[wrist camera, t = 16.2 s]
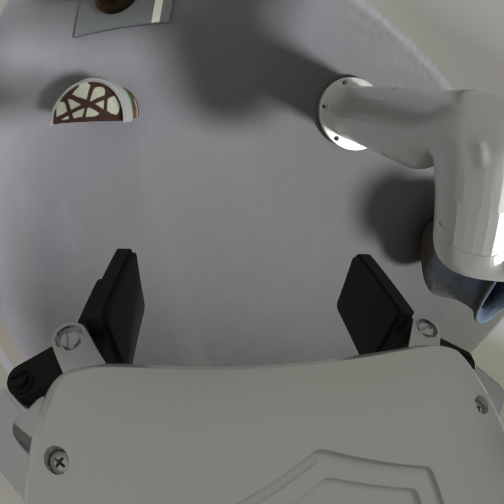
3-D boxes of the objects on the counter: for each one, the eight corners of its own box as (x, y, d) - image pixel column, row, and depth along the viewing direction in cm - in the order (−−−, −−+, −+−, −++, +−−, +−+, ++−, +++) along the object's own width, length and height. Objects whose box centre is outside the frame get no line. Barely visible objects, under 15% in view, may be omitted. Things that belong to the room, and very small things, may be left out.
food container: (152, 78, 32) (133, 73, 24) (147, 116, 35) (127, 122, 27) (81, 81, 30) (49, 81, 21) (78, 117, 33) (45, 126, 25)
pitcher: (423, 185, 47) (512, 248, 26) (475, 204, 51) (543, 257, 30) (390, 268, 57) (450, 348, 36) (445, 271, 61) (498, 333, 40)
